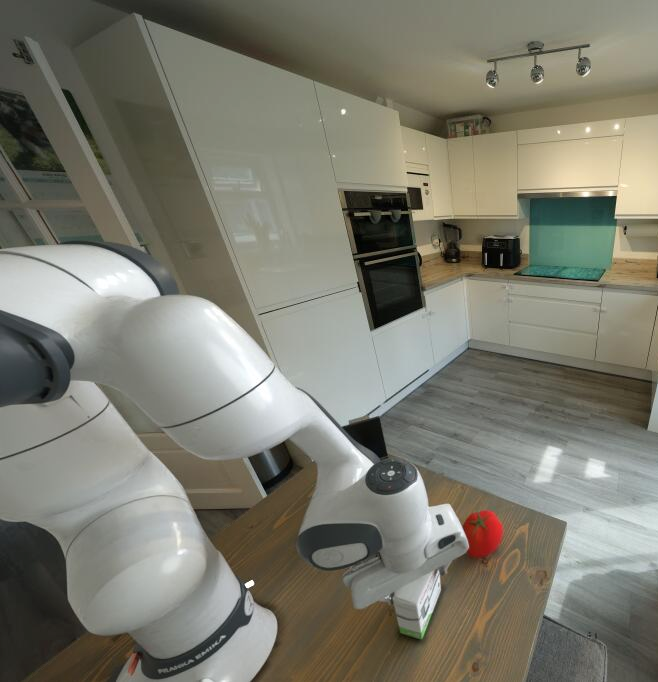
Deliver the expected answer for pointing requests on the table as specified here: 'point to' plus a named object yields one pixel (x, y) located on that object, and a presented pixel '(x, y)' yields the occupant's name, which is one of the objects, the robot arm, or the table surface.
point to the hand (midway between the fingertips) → (418, 585)
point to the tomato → (482, 533)
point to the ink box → (417, 604)
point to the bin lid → (368, 434)
